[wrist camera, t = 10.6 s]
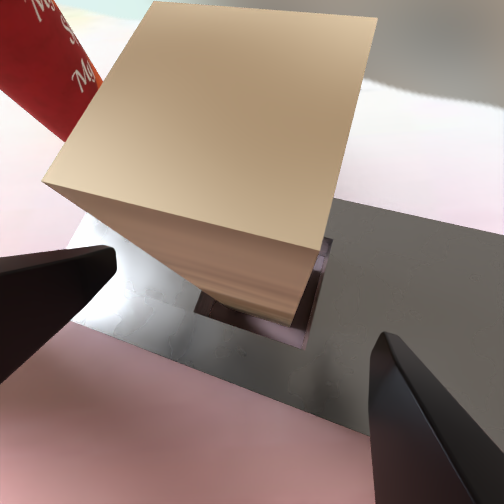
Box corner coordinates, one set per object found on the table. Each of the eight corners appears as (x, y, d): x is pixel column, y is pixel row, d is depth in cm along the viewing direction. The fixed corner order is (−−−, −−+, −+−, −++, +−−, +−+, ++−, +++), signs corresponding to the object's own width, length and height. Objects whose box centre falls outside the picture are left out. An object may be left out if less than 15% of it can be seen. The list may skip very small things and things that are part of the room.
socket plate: (466, 461, 13) (516, 493, 10) (72, 312, 18) (33, 306, 15) (482, 257, 16) (523, 239, 13) (142, 177, 21) (120, 151, 18)
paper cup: (149, 118, 23) (-28, -182, 10) (76, 174, 22) (-233, -81, 9) (101, 77, 26) (-90, -207, 12) (34, 126, 24) (-259, -131, 11)
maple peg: (289, 327, 16) (319, 250, 3) (228, 308, 17) (40, 181, 4) (305, 266, 17) (378, 17, 4) (247, 250, 18) (153, 1, 5)
